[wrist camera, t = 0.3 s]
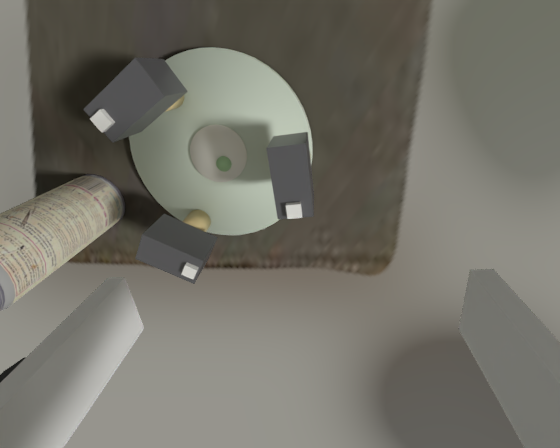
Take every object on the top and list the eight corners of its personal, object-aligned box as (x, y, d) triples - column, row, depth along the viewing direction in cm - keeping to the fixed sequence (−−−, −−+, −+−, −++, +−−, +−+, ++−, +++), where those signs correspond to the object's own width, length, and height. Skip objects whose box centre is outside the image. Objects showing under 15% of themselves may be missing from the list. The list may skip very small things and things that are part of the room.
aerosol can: (62, 178, 38) (-163, 276, 20) (111, 170, 37) (-81, 267, 19) (87, 227, 41) (-91, 351, 23) (133, 221, 40) (-16, 347, 22)
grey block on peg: (278, 128, 31) (265, 149, 23) (308, 124, 30) (305, 144, 22) (286, 185, 33) (277, 222, 26) (314, 182, 33) (313, 219, 25)
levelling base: (119, 44, 30) (107, 43, 29) (320, 51, 29) (321, 50, 27) (151, 223, 39) (143, 230, 38) (305, 235, 38) (305, 244, 36)
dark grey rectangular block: (181, 59, 29) (131, 57, 21) (202, 88, 30) (161, 96, 22) (139, 99, 31) (78, 110, 23) (160, 124, 32) (108, 144, 24)
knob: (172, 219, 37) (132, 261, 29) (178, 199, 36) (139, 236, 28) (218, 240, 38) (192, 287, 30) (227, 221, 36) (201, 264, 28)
